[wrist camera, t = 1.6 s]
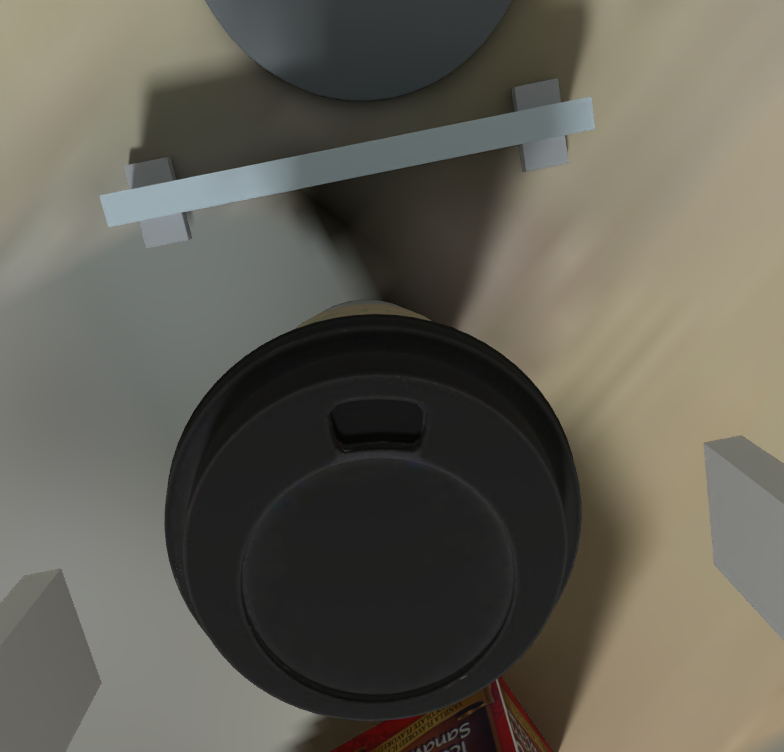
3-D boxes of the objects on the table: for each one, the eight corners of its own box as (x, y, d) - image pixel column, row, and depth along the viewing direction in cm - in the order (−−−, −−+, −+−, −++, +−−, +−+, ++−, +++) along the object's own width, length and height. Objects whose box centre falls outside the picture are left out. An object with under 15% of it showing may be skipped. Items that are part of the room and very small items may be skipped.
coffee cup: (416, 210, 28) (487, 243, 13) (519, 417, 30) (674, 636, 16) (202, 324, 28) (45, 474, 14) (320, 517, 31) (289, 816, 16)
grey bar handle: (150, 246, 27) (117, 257, 24) (128, 166, 27) (89, 163, 23) (564, 163, 27) (598, 160, 24) (553, 80, 27) (587, 63, 23)
